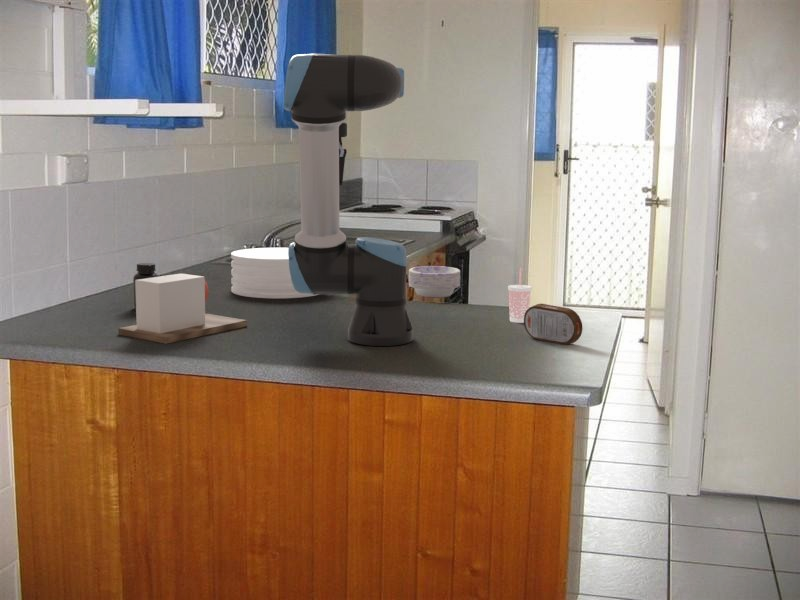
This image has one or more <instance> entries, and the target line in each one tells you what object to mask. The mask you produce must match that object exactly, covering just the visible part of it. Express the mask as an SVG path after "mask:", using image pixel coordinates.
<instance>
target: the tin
mask: <svg viewBox="0 0 800 600" xmlns="http://www.w3.org/2000/svg"><path fill="white" fill-rule="evenodd" d="M523 324H524V325H523V326H524V329H525V331H526V332H527V334H528V335H529V336H530V337H531V338H533V339H534V340H538V341H543V342H549V343H552V344H553V343H554V344H559V345H569V344H573V343H576V342H577V341H579V339H580V338H581V336H582V334H583V322H582V320H581V318H580V316H579V314H578V313H577V312H576V311H575V310H574V309H572V308H570V307H564V306H556V305H551V304H546V303H537V304H535V305H532V306H529V309H528V310H527V311H526V312H525V315H524V323H523Z"/></svg>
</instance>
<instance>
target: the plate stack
mask: <svg viewBox="0 0 800 600" xmlns="http://www.w3.org/2000/svg"><path fill="white" fill-rule="evenodd" d="M288 248H289V247H257V248H256V247H255V248H254V247H253V248H245V249H244V248H243V249H238V250H234V251H232V252H231V253H230V258H231V259H232V260H231V262H230V266H231V268H232V269H231V270H230V273H231V278H230V279H231V280H230V283H231V285H232V286H231V289H230V290H231V293H233V294H235V295H237V296H242V297H248V298H257V299H297V298H307V297H314V296H318V295H319V296H320V294H316V295H313V294H305V293H299V292H297V291H296V290H295V288H294V287H293V284H292V280H291V275H290V269H289V257H288Z"/></svg>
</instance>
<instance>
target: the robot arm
mask: <svg viewBox="0 0 800 600" xmlns="http://www.w3.org/2000/svg"><path fill="white" fill-rule="evenodd" d="M285 76H286V77H285V83H284V84H285V85H284V93H283V94H284V96H283V109H284V110H286V111H287V112H291V117H290V118H291V121H292V122H293V123H295V125H296V126H297V127H298V139H299V140H298V143H299V144H298V145H299V146H298V148H299V149H298V150H299V152H298V153H299V154H298V155H299V185H300V186H299V187H300V188H299V189H300V190H299V191H300V192H299V193H300V198H299V199H300V226H301V228H300V231H299V232H297V233H296V234H295V236H294V242H293V241H292V242H291V243H289V245H288V247H287V248H288V257H289V269H290V275H291V280H292V284H293V287H294V288H295V290H296V291H297V292H299V293H305V294H313V295H315V296H317V295H316V294H319V295H355V306H354V311H353V313H352V316H351V318H350V323H349V325H348V328H347V341H349V342H351V343H354V344H357V345H364V346H371V347H373V346H375V347H390V346H400V345H405V344H409V343H411V342H412V341H414V330H413V327H412V323H411V319H410V315H409V313H408V310H407V309H408V308H407V267H408V265H409V264H408V262H407V261H408V258H407V248H406V246H404V244H402V243H400V242H397V241H393V240H390V239H383V238H378V237H377V238H376V237H364V236H363V237H362V236H361V237H360V236H359V237H357V238H356V239H355V241H354V243H347V235H346V234H345V233H344V232H343V231H341V229H340V186H343V180H344V172H345V171H344V170H345V163H346V162H345V161H346V156H347V149H346V148H343V141H342V138H346V137H347V135H348V124H347V123H346V122H345V121H347V120H348V113H349V112H364V111H372V110H375V109H380V108H383V107H386V106H388V105H390V104H392V103H393V102H395V101H396V100H397V99H400V98H403V97H404V94H405V70H404V68H402V67H396V66H395V65H394V64H393V63H391V62H389V61H386V60H384V59H381V58H378V57H373V56H370V55H369V56H368V55H363V54H354V55H353V54H334V53H333V54H325V53H314V52H313V53H311V52H310V53H307V54H306V53H304V54H303V53H302V54H295V55H293V56H292V57H291V58H290V59H289V62H288V65H287V71H286V75H285Z"/></svg>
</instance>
